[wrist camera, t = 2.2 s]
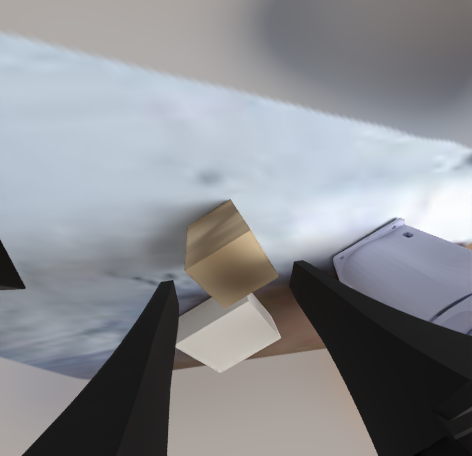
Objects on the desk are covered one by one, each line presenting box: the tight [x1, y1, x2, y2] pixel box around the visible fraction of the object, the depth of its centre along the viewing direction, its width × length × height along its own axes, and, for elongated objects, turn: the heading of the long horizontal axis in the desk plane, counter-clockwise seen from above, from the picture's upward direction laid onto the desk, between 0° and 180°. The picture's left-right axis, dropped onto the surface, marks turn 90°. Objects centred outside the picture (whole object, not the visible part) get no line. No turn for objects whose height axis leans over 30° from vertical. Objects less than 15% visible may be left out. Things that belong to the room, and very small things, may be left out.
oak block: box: [185, 199, 279, 309], centre depth 13 cm, size 4×4×6 cm
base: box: [176, 293, 281, 373], centre depth 20 cm, size 9×9×3 cm
